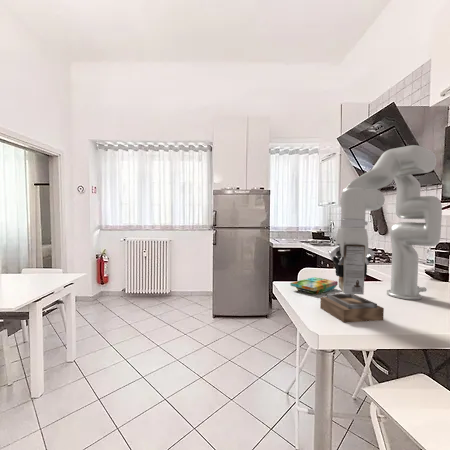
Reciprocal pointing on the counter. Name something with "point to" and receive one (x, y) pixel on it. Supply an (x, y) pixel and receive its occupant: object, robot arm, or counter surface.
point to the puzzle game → (315, 285)
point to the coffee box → (353, 270)
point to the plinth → (351, 308)
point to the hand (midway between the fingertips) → (351, 275)
